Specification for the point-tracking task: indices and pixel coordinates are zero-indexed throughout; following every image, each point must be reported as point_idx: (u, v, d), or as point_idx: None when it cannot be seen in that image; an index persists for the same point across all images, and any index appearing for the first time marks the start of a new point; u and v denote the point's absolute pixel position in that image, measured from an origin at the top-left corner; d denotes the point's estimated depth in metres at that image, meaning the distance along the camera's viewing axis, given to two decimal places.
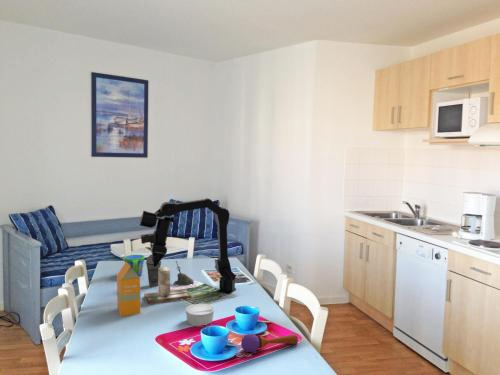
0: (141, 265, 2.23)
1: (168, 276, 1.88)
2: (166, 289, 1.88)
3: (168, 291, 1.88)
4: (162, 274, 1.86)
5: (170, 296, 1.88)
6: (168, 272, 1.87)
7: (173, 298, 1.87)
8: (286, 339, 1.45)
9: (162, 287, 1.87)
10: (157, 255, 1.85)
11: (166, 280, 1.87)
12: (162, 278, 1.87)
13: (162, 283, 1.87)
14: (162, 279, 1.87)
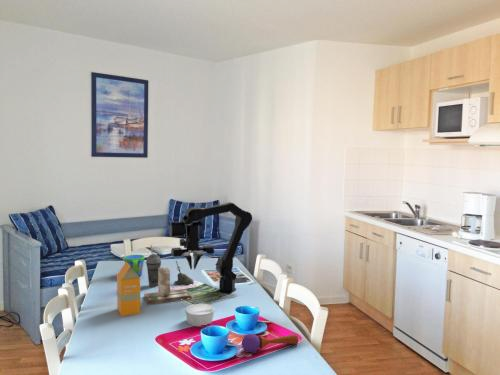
0: (141, 265, 2.23)
1: (168, 276, 1.88)
2: (166, 289, 1.88)
3: (168, 291, 1.88)
4: (162, 274, 1.86)
5: (170, 296, 1.88)
6: (168, 272, 1.87)
7: (173, 298, 1.87)
8: (287, 339, 1.45)
9: (162, 287, 1.87)
10: (188, 258, 1.94)
11: (166, 280, 1.87)
12: (162, 278, 1.87)
13: (162, 283, 1.87)
14: (162, 279, 1.87)
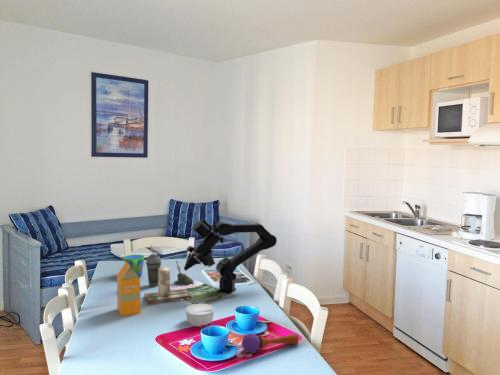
0: (141, 265, 2.23)
1: (168, 276, 1.88)
2: (166, 289, 1.88)
3: (168, 291, 1.88)
4: (162, 274, 1.86)
5: (170, 296, 1.88)
6: (168, 272, 1.87)
7: (173, 298, 1.87)
8: (287, 339, 1.45)
9: (162, 287, 1.87)
10: None
11: (166, 280, 1.87)
12: (162, 278, 1.87)
13: (162, 283, 1.87)
14: (162, 279, 1.87)
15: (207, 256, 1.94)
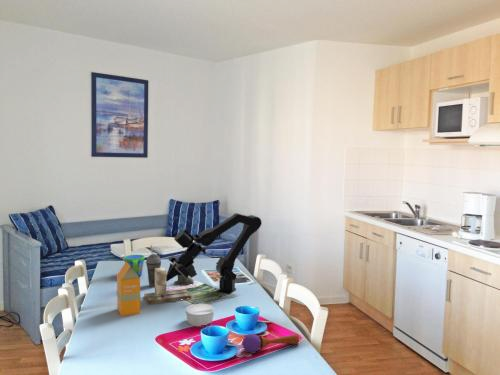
0: (141, 265, 2.23)
1: (164, 277, 1.87)
2: (162, 290, 1.87)
3: (164, 291, 1.87)
4: (158, 274, 1.86)
5: (170, 296, 1.88)
6: (164, 272, 1.87)
7: (173, 298, 1.87)
8: (288, 339, 1.45)
9: (158, 287, 1.86)
10: None
11: (162, 281, 1.87)
12: (158, 278, 1.86)
13: (158, 283, 1.86)
14: (158, 279, 1.86)
15: (189, 267, 1.91)
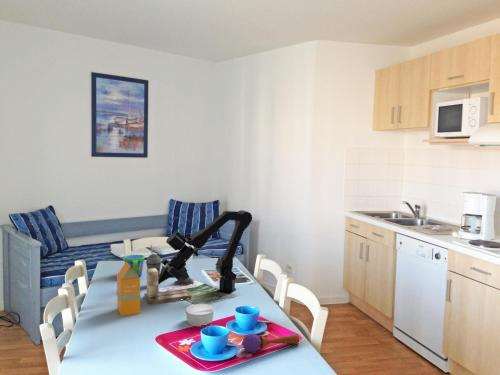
0: (141, 265, 2.23)
1: (156, 278, 1.85)
2: (154, 291, 1.86)
3: (156, 292, 1.86)
4: (150, 275, 1.84)
5: (170, 296, 1.88)
6: (156, 273, 1.85)
7: (173, 298, 1.87)
8: (288, 339, 1.45)
9: (150, 288, 1.85)
10: None
11: (154, 281, 1.85)
12: (150, 279, 1.85)
13: (150, 284, 1.85)
14: (150, 280, 1.85)
15: (181, 269, 1.90)
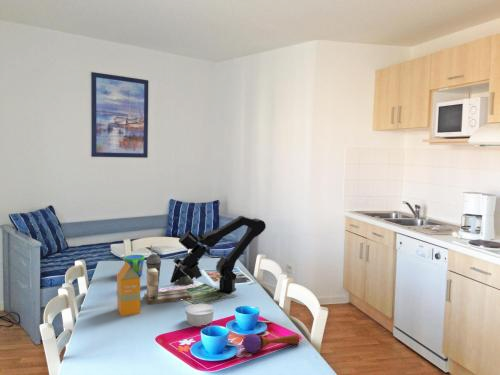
0: (141, 265, 2.23)
1: (156, 278, 1.85)
2: (154, 291, 1.86)
3: (156, 292, 1.86)
4: (150, 275, 1.84)
5: (170, 296, 1.88)
6: (156, 273, 1.85)
7: (173, 298, 1.87)
8: (288, 339, 1.45)
9: (150, 288, 1.85)
10: None
11: (154, 281, 1.85)
12: (150, 279, 1.85)
13: (150, 284, 1.85)
14: (150, 280, 1.85)
15: (194, 268, 1.92)
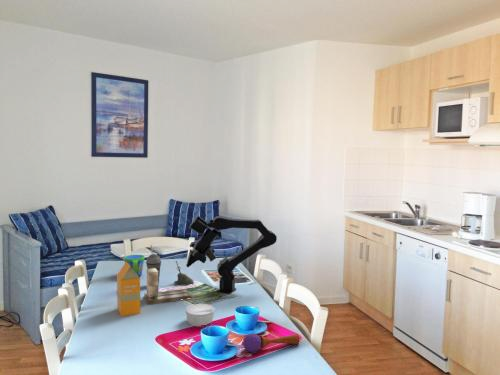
0: (141, 265, 2.23)
1: (156, 278, 1.85)
2: (154, 291, 1.86)
3: (156, 292, 1.86)
4: (150, 275, 1.84)
5: (170, 296, 1.88)
6: (156, 273, 1.85)
7: (173, 298, 1.87)
8: (288, 339, 1.45)
9: (150, 288, 1.85)
10: None
11: (154, 281, 1.85)
12: (150, 279, 1.85)
13: (150, 284, 1.85)
14: (150, 280, 1.85)
15: (206, 252, 1.97)
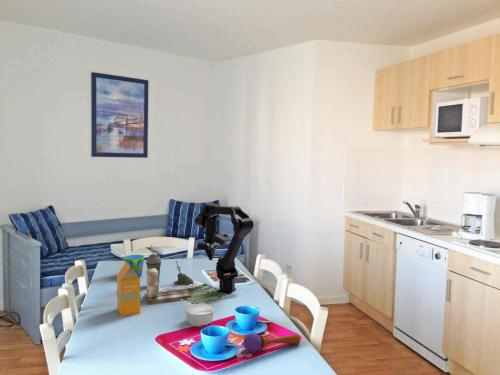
0: (141, 265, 2.23)
1: (156, 278, 1.85)
2: (154, 291, 1.86)
3: (156, 292, 1.86)
4: (150, 275, 1.84)
5: (170, 296, 1.88)
6: (156, 273, 1.85)
7: (173, 298, 1.87)
8: (289, 339, 1.45)
9: (150, 288, 1.85)
10: None
11: (154, 281, 1.85)
12: (150, 279, 1.85)
13: (150, 284, 1.85)
14: (150, 280, 1.85)
15: (213, 239, 2.07)
